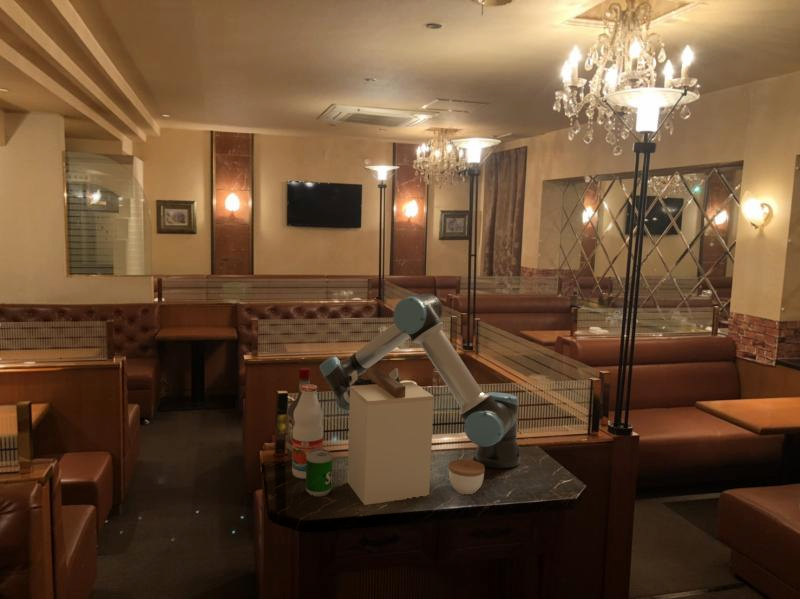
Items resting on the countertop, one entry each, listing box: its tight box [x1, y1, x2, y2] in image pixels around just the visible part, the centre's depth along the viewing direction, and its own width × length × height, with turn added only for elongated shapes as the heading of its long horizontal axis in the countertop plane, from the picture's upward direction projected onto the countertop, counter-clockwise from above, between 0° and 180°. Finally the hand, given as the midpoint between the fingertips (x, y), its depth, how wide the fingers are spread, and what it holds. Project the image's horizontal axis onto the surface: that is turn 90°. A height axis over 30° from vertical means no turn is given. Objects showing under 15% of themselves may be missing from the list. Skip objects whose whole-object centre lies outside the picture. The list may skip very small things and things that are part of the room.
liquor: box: [286, 367, 311, 460], centre depth 205 cm, size 9×9×30 cm
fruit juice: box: [291, 383, 324, 480], centre depth 192 cm, size 9×9×28 cm
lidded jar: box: [448, 458, 486, 495], centre depth 185 cm, size 11×11×9 cm
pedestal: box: [346, 381, 435, 506], centre depth 182 cm, size 20×16×30 cm
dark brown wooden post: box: [366, 366, 406, 398], centre depth 185 cm, size 3×24×3 cm, turn 22°
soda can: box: [305, 448, 334, 497], centre depth 180 cm, size 8×8×12 cm
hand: (376, 373), depth 191 cm, fingers open, 13 cm apart
